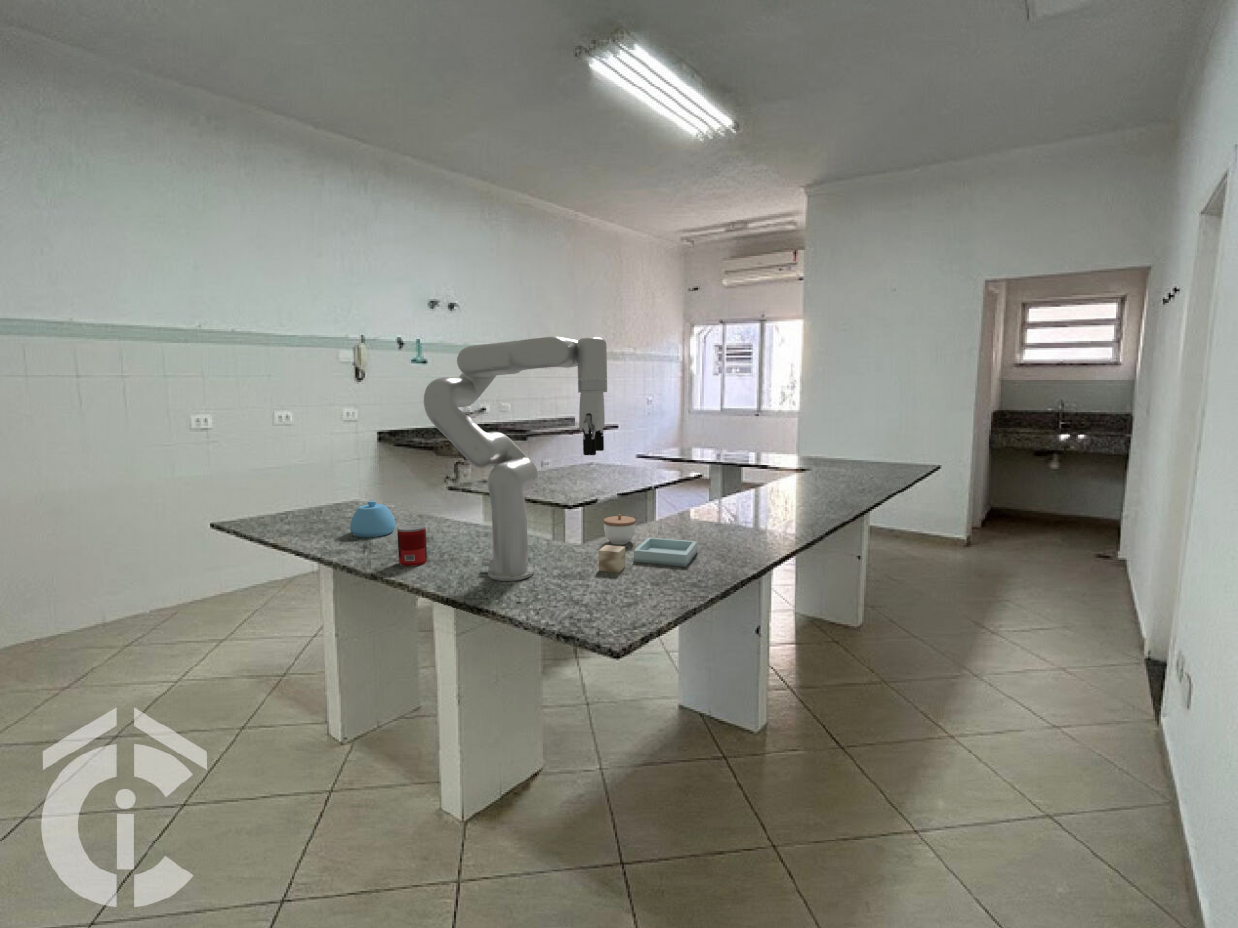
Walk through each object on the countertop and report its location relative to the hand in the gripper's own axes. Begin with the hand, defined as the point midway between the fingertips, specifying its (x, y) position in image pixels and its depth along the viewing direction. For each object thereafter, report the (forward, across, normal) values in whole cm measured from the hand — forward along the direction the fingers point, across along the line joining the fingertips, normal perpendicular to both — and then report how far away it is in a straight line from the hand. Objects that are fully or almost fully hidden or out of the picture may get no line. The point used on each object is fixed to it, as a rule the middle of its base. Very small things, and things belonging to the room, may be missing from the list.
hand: (593, 452), depth 161 cm
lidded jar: (+35, -41, -1) cm, 54 cm away
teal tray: (+35, -26, +16) cm, 47 cm away
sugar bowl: (+34, -38, -89) cm, 103 cm away
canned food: (+34, -8, -57) cm, 67 cm away
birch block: (+35, -12, +2) cm, 37 cm away
